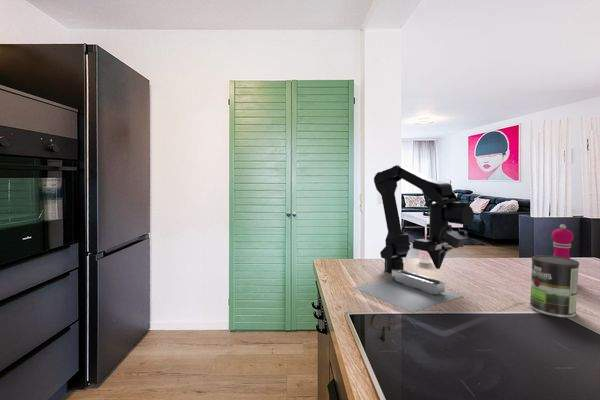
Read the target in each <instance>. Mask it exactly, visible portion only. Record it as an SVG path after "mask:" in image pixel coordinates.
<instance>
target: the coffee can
mask: <svg viewBox="0 0 600 400" xmlns="http://www.w3.org/2000/svg"><path fill="white" fill-rule="evenodd" d="M579 266H580V262H579V261H578V260H575V259H573V258H570V259H569V258H564V257H558V256H553V255H545V254H543V255H542V254H541V255H539V254H537V255H533V256H532V257H531V278H530V279H531V282H530V301H529V302H530V303H529V307H530V308H531V309H532V310H534V311H536V312H537V313H540V314H544V315H547V316H551V317H557V318H574V317H575V316H577V301H578V300H577V299H578V298H577V297H578V283H579Z"/></svg>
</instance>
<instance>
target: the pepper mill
mask: <svg viewBox="0 0 600 400" xmlns="http://www.w3.org/2000/svg"><path fill="white" fill-rule="evenodd" d="M551 239H552V240H553V245H552V247H553V249H554V251H553V255H552V256H558V257H564V258H569V259H571V256H570V248H571V249H572V243H571V242H572V241H574V233H573V232H572V231H571V230H570V229H567V226H566V225H565V224H564V223H563V224H560V225H559V228H557V229H554V230H553V231H552V233H551Z"/></svg>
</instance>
